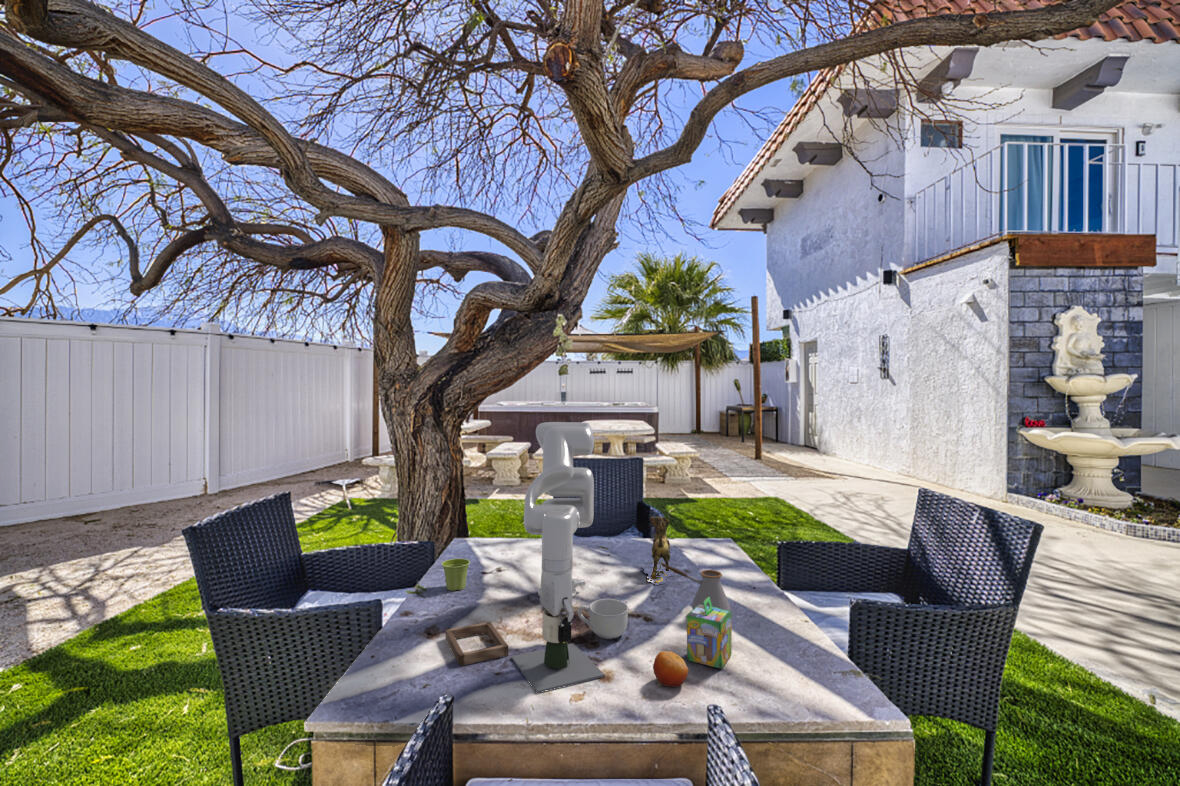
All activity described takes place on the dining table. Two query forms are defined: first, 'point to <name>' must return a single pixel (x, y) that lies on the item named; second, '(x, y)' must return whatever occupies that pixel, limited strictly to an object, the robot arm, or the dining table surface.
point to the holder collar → (476, 655)
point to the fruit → (669, 669)
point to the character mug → (554, 642)
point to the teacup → (606, 617)
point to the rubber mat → (554, 678)
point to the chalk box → (709, 635)
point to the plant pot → (455, 573)
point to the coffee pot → (707, 588)
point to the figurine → (660, 545)
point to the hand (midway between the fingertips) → (556, 632)
